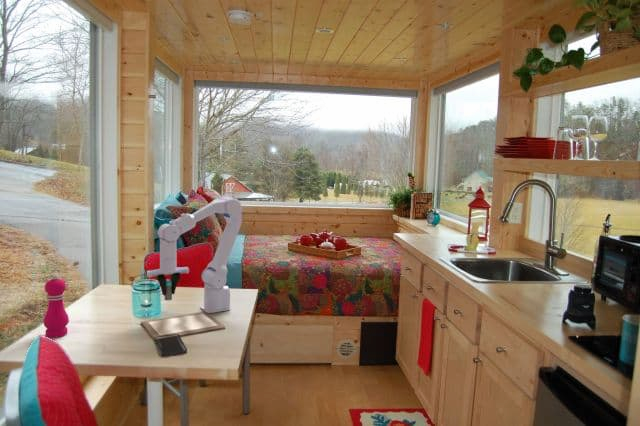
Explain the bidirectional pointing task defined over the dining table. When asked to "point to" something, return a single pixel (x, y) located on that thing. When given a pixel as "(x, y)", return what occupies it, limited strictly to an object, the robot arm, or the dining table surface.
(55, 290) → the pepper mill
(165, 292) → the robot arm
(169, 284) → the marker
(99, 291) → the dining table surface
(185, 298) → the dining table surface
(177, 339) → the phone
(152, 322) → the drawing pad
